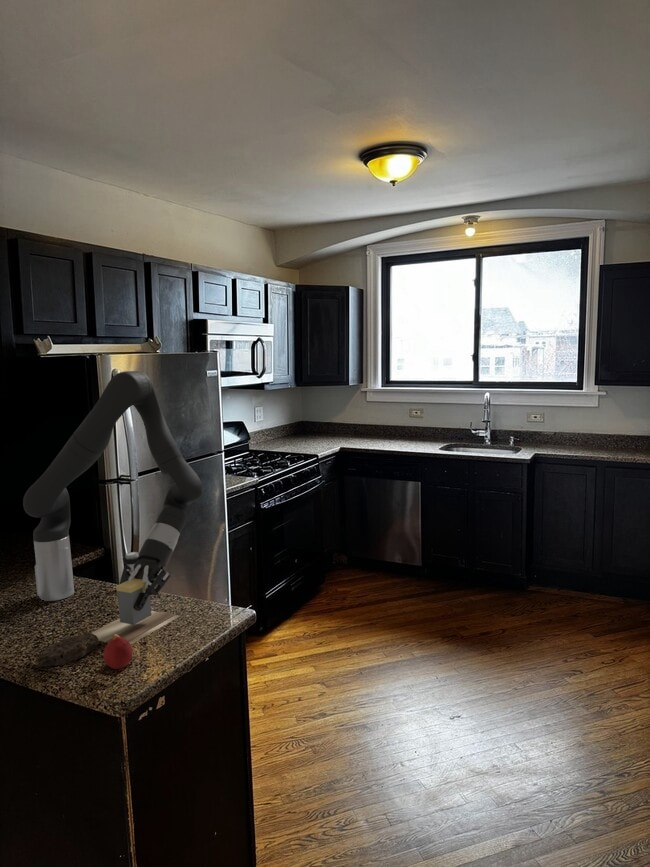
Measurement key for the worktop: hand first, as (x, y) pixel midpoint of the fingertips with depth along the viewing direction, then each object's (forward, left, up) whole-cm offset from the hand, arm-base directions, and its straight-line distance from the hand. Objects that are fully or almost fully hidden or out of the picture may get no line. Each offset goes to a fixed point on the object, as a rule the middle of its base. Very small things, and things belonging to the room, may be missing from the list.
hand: (129, 607), depth 142 cm
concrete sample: (-4, -14, -7) cm, 17 cm away
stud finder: (0, +2, -3) cm, 4 cm away
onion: (+11, -14, -7) cm, 19 cm away
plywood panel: (-1, +2, -7) cm, 7 cm away
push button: (-25, +26, -7) cm, 36 cm away
